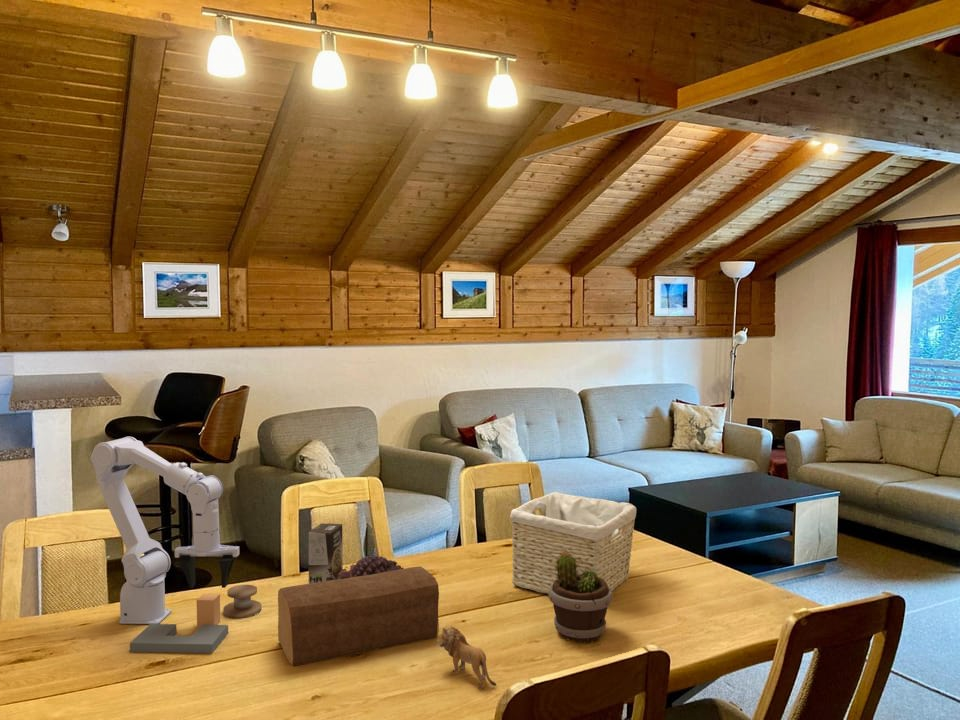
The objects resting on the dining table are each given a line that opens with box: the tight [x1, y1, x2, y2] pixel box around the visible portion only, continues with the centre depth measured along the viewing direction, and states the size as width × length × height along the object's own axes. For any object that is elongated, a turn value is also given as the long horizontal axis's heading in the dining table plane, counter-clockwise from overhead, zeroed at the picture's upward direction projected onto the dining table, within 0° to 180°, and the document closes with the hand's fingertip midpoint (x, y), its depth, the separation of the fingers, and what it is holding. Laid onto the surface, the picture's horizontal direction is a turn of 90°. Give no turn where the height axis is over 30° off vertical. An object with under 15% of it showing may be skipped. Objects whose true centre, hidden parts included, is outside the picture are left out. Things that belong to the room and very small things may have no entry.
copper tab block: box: [196, 593, 221, 630], centre depth 180 cm, size 4×4×7 cm
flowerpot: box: [548, 549, 613, 643], centre depth 177 cm, size 14×15×20 cm
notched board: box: [129, 623, 229, 654], centre depth 171 cm, size 18×10×2 cm, turn 89°
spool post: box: [222, 584, 262, 619], centre depth 189 cm, size 9×9×5 cm
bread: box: [277, 566, 440, 667], centre depth 173 cm, size 14×34×14 cm, turn 116°
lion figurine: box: [436, 625, 497, 690], centre depth 156 cm, size 15×5×9 cm, turn 51°
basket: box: [509, 491, 637, 595], centre depth 209 cm, size 27×27×22 cm
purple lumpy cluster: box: [337, 554, 405, 579], centre depth 201 cm, size 18×10×10 cm, turn 109°
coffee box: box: [308, 522, 344, 584], centre depth 205 cm, size 9×6×16 cm
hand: (208, 586), depth 179 cm, fingers open, 7 cm apart
